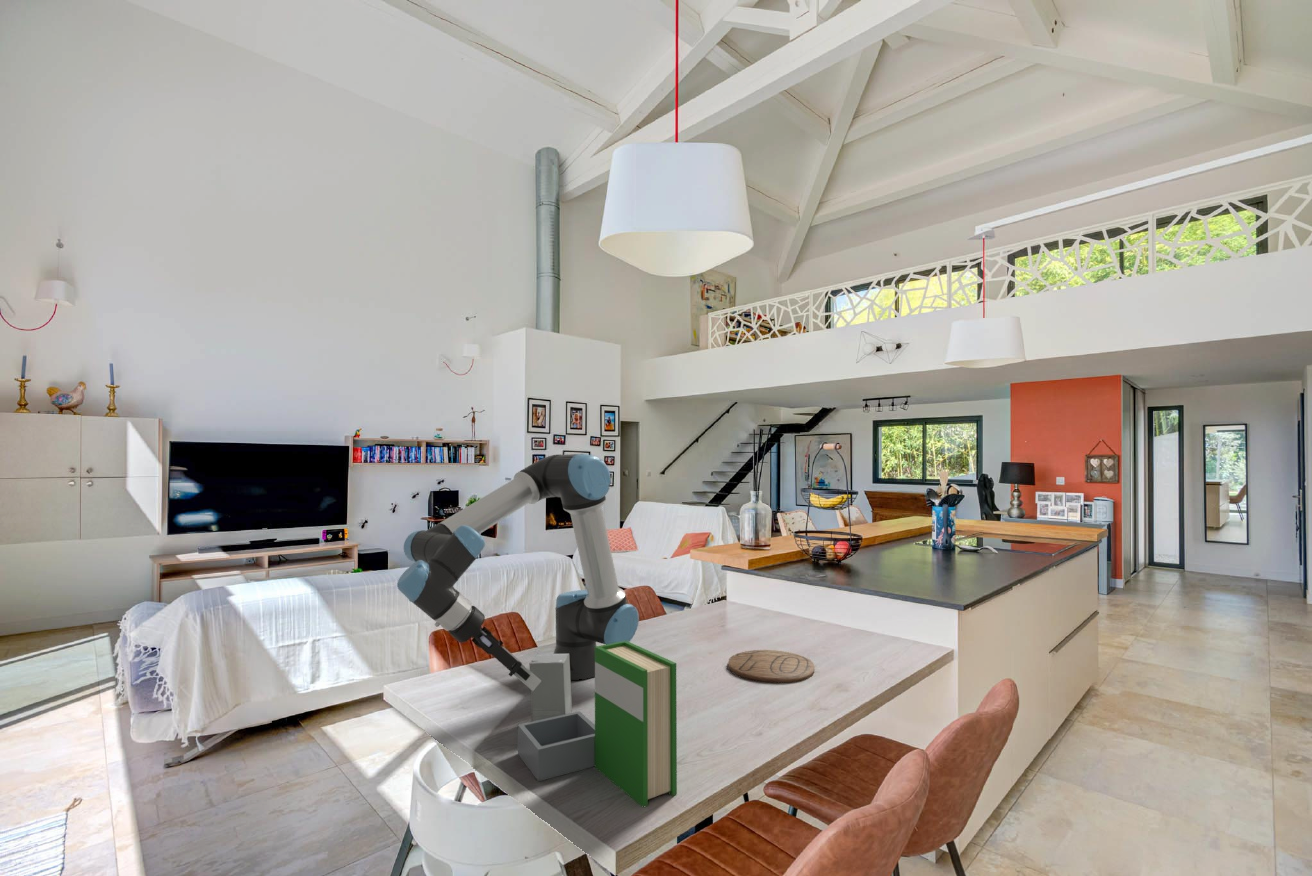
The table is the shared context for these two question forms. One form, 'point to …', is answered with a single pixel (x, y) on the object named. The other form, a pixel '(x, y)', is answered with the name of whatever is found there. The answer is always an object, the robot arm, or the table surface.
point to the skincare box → (551, 686)
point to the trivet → (771, 666)
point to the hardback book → (636, 720)
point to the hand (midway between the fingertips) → (527, 676)
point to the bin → (557, 745)
